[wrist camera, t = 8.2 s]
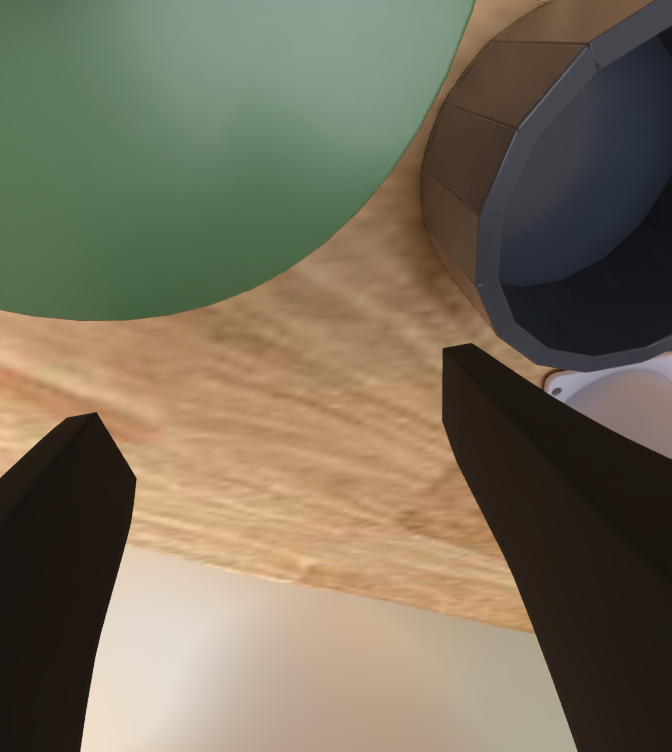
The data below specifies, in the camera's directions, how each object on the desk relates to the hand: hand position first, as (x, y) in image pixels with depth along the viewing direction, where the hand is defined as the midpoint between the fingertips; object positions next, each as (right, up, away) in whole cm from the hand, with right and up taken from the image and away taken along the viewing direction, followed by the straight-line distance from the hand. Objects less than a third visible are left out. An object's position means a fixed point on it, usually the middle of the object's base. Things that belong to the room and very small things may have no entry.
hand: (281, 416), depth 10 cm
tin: (+10, +9, +8) cm, 15 cm away
